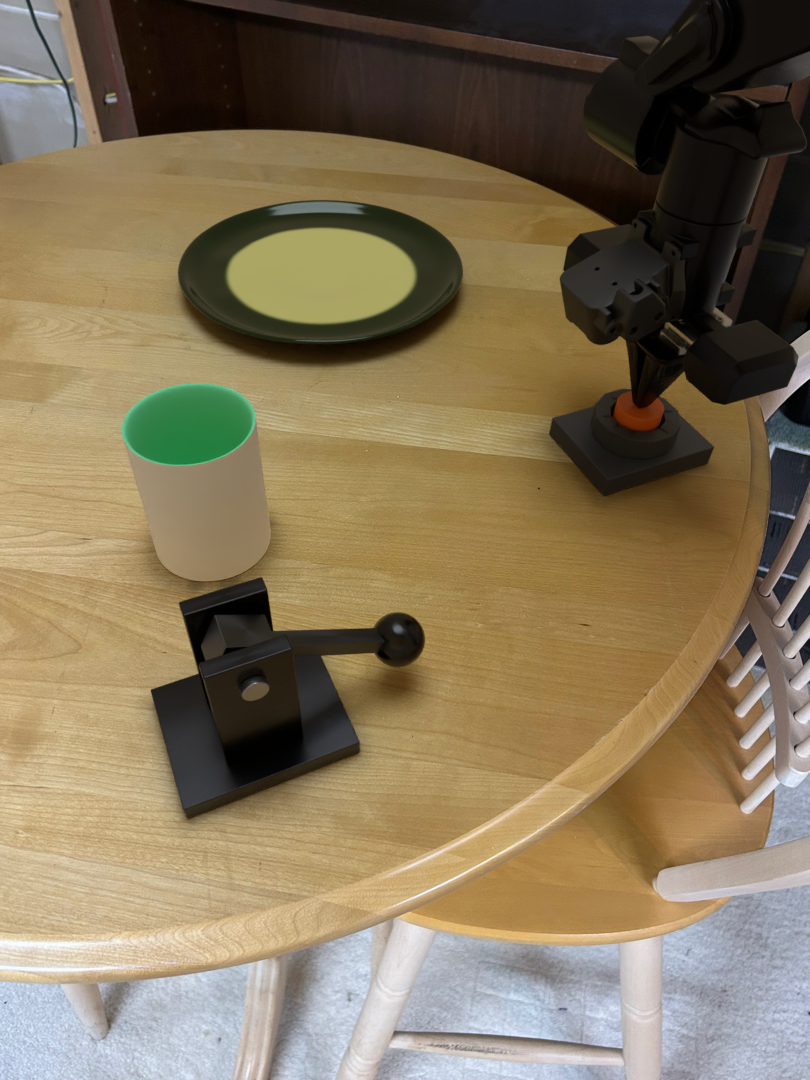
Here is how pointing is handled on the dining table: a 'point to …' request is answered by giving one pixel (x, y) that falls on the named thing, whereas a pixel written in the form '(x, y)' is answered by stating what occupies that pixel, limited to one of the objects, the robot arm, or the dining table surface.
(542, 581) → the dining table surface
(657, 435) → the button box
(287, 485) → the dining table surface
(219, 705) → the switch
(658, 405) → the button
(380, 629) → the lever
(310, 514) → the dining table surface
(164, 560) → the mug
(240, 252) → the plate
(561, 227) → the dining table surface
